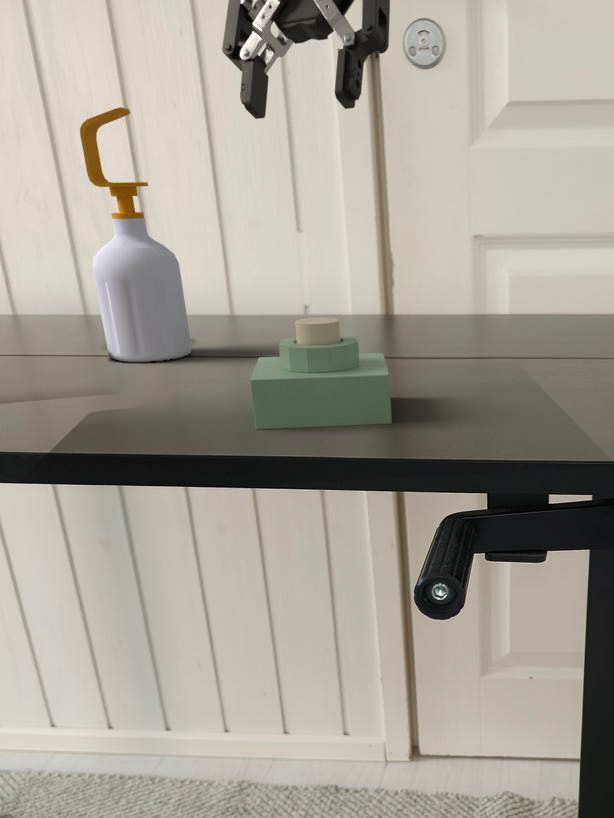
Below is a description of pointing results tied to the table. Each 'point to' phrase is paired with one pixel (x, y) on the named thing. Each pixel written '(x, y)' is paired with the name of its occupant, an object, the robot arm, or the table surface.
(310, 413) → the dispenser
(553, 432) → the table surface
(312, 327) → the cylinder
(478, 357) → the table surface
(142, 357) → the soap bottle
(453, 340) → the table surface
